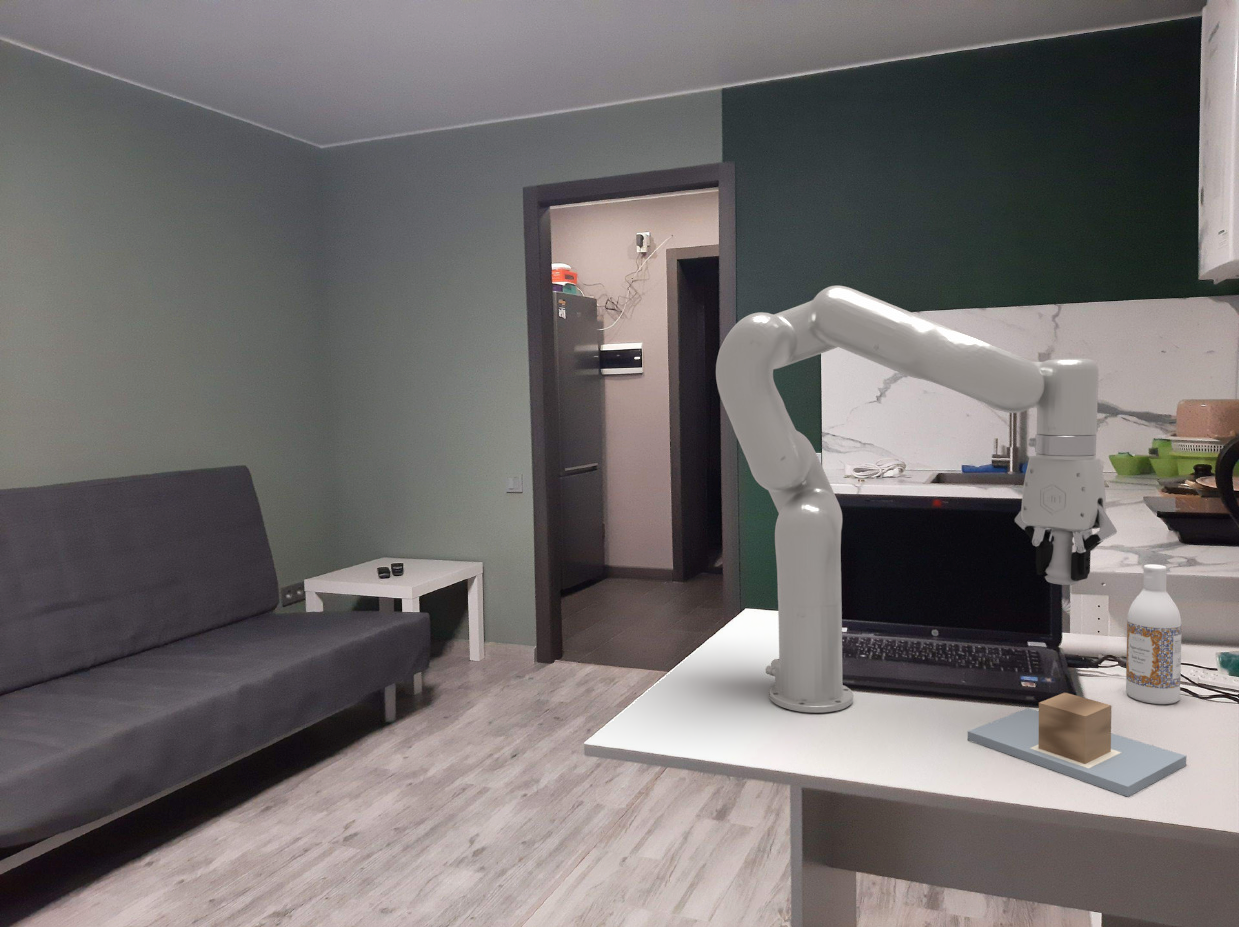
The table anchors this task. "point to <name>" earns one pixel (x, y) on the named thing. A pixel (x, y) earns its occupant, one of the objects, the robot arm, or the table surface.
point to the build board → (1113, 771)
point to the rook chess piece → (1061, 558)
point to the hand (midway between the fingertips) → (1062, 574)
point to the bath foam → (1154, 642)
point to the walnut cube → (1075, 727)
